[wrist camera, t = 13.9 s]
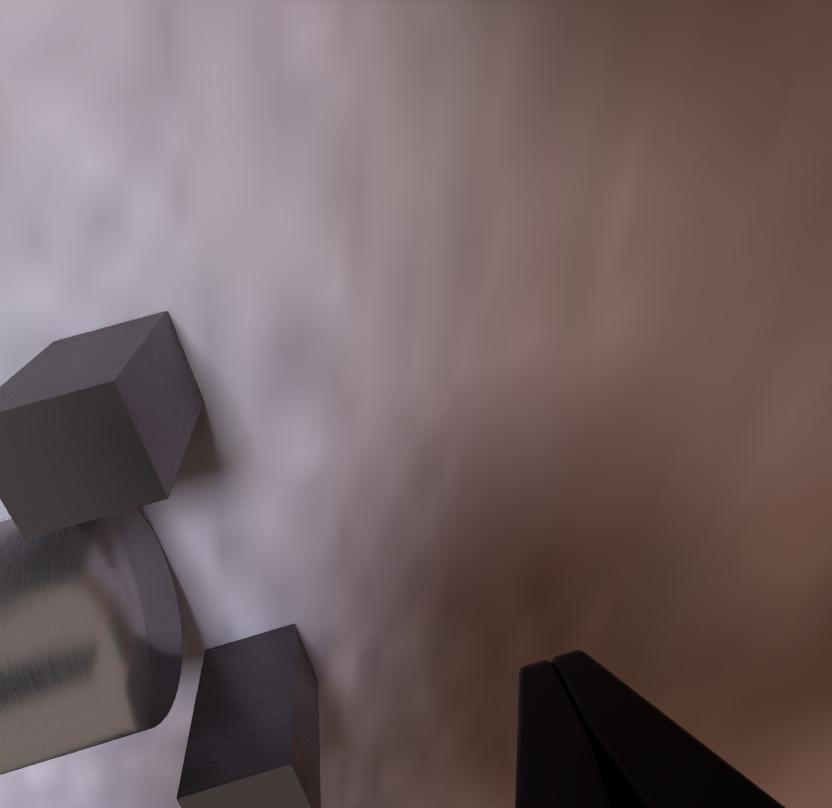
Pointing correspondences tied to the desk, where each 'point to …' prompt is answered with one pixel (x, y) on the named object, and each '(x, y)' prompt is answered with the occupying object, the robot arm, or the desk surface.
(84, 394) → the collar stand
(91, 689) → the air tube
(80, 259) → the desk surface
